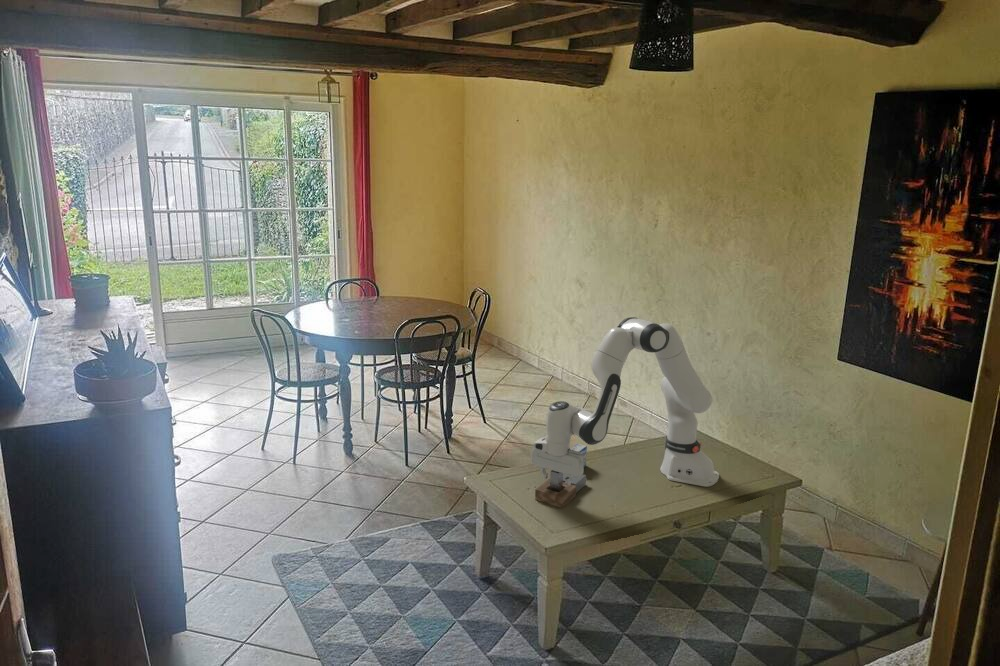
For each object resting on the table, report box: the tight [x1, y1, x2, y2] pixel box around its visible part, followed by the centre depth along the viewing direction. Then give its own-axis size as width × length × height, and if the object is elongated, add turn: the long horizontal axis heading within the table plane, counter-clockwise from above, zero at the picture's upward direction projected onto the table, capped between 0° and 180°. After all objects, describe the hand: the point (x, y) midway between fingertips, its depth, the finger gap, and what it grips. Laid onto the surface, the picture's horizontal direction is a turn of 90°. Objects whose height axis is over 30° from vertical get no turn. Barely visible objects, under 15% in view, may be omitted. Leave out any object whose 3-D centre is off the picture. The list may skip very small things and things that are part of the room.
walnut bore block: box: [534, 478, 577, 509], centre depth 261 cm, size 11×11×4 cm
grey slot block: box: [563, 473, 587, 494], centre depth 270 cm, size 9×9×4 cm
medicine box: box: [570, 443, 588, 467], centre depth 285 cm, size 8×4×9 cm, turn 148°
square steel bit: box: [549, 470, 563, 492], centre depth 260 cm, size 3×3×10 cm
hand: (556, 481), depth 260 cm, fingers open, 8 cm apart
